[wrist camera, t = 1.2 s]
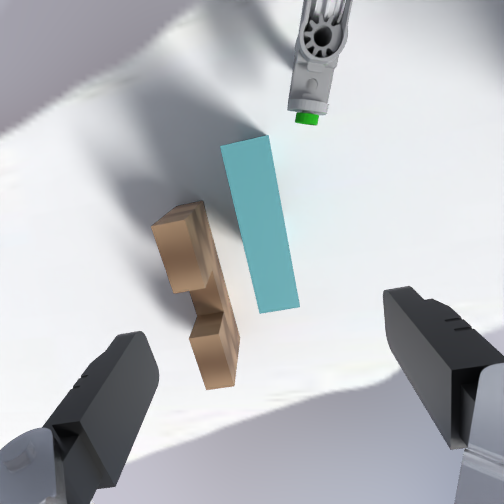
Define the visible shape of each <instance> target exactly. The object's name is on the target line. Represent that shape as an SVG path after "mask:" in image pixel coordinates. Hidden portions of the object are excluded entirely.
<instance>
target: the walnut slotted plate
mask: <svg viewBox="0 0 504 504" xmlns="http://www.w3.org/2000/svg"><path fill="white" fill-rule="evenodd" d="M151 229H152V231H153V234H154V237H155V240H156V243H157V246H158V249H159V252H160V255H161V258H162V261H163V264H164V267H165V270H166V273H167V276H168V279H169V282H170V284H171V287H172V290H173V293H174V294H175V293H181V292H186V291H189V292H190V295H191V298H192V301H193V304H194V307H195V310H196V314H197V318H196V321H195V324H194V326H193V329H192V332H191V334H190V337H189V340H190V343H191V346H192V349H193V352H194V355H195V358H196V361H197V364H198V367H199V370H200V373H201V376H202V379H203V382H204V385H205V387H206V390H210V389H217V388H225V387H232V386H234V385H235V377H236V368H237V360H238V352H239V343H240V336H239V333H238V329H237V325H236V321H235V318H234V314H233V310H232V307H231V303H230V299H229V296H228V292H227V288H226V285H225V281H224V277H223V274H222V270H221V266H220V263H219V259H218V255H217V251H216V248H215V244H214V240H213V237H212V233H211V229H210V226H209V222H208V218H207V215H206V211H205V207H204V204H203V201H199V202H194V203H189V204H184V205H180V206H176V207H175V208H173V209H172V210H171V211H170V212H168V213H167V214H166V215H165V216H163V217H162V218H161V219H160V220H158V221H157V222H156V223H155V224H153V225H152V226H151Z"/></svg>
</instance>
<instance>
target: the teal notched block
mask: <svg viewBox="0 0 504 504" xmlns="http://www.w3.org/2000/svg"><path fill="white" fill-rule="evenodd" d="M220 148H221V153H222V157H223V161H224V165H225V169H226V174H227V178H228V182H229V186H230V191H231V195H232V199H233V203H234V207H235V212H236V216H237V220H238V224H239V228H240V233H241V237H242V241H243V245H244V250H245V254H246V258H247V262H248V266H249V271H250V275H251V279H252V283H253V287H254V292H255V296H256V300H257V304H258V309H259V313H260V314H261V313H267V312H273V311H279V310H285V309H291V308H297V307H300V304H299V299H298V293H297V288H296V282H295V277H294V272H293V266H292V261H291V255H290V250H289V244H288V239H287V233H286V228H285V223H284V217H283V212H282V206H281V201H280V195H279V190H278V184H277V179H276V174H275V168H274V163H273V157H272V152H271V146H270V141H269V135H266V136H261V137H257V138H253V139H248V140H244V141H240V142H235V143H231V144H227V145H223V146H220Z"/></svg>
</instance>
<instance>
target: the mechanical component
mask: <svg viewBox="0 0 504 504" xmlns="http://www.w3.org/2000/svg"><path fill="white" fill-rule="evenodd" d="M344 3H345V0H304V2H303V8H302V15H301V21H300V28H299V34H298V37H297V40H296V44H295V60H294V67H293V73H292V80H291V86H290V93H289V100H288V109H287V110H288V111H295V112H297V113H296V119H295V122H296V123H301V124H308V125H317V123H318V118H319V115H326V114H327V110H328V105H329V104H327V103H328V98H329V93H330V88H331V82H332V77H333V72H334V68H335V67H337V62H338V57H339V54H340V53H341V51H342V50H343V48H344V47H345V44H346V42H347V37H348V26H347V25H348V20H349V15H350V10H351V5H352V0H346V3H345V7H344ZM343 8H344V10H343ZM342 13H343V14H342ZM316 114H317V115H316Z"/></svg>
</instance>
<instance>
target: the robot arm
mask: <svg viewBox="0 0 504 504" xmlns="http://www.w3.org/2000/svg"><path fill="white" fill-rule="evenodd" d="M383 304H384V317H385V330H386V337H387V341H388V344H389V347H390V349H391V351H392V353H393V355H394V356H395V358H396V360H397V361H398V363H399V365H400V366H401V368H402V370H403V371H404V373H405V374H406V376H407V378H408V380H409V381H410V383H411V384H412V386H413V388H414V390H415V391H416V393H417V395H418V396H419V398H420V400H421V401H422V403H423V405H424V406H425V408H426V410H427V411H428V413H429V415H430V416H431V418H432V420H433V421H434V423H435V424H436V426H437V428H438V430H439V431H440V433H441V435H442V436H443V438H444V440H445V441H446V442H447V445H448V446H449V448H450V449H451V450H453V449H462V448H468V449H465V450H464V454H463V458H462V463H461V469H460V475H459V480H458V486H457V492H456V497H455V503H454V504H504V356H503V355H502V354H501V353H500V352H499V351H497V349H496V348H494V347H493V346H492V345H491V344H490V343H489V342H488V341H487V340H486V339H485V338H483V337H482V336H481V335H480V334H479V333H478V332H477V331H476V330H475V329H472V328H471V326H470V325H469V324H468V323H467V322H466V321H465V320H464V319H463V320H462V319H461V317H460V316H459V315H458V314H457V313H456V312H455V311H454V310H453V309H452V308H450V307H449V306H447V305H445V304H443V303H441V302H438V301H436V300H434V299H427V300H424V299H423V298H422V297H421V296H420V295H419V294H418V293H417V292H416V291H415V290H414V289H413V288H412V287H410V286H406V287H400V288H394V289H388V290H384V292H383ZM158 383H159V370H158V366H157V364H156V361H155V359H154V356H153V353H152V351H151V348H150V346H149V343H148V341H147V338H146V336H145V334H144V333H143V332H142V331H137V332H131V333H125V334H120V335H117V336H116V337H115V339H114V340H113V342H112V343H111V344H110V346H109V347H108V348H107V350H106V351H105V352H104V353H102V354H101V355H100V356H99V357H98V358H96V359H95V360H94V361H93V362H92V363H90V365H89V366H88V367H87V369H86V370H85V371H84V373H83V374H82V375H81V378H79V379H78V381H77V382H76V383H75V385H74V386H73V389H71V390H70V391H69V392H68V394H67V395H66V396H65V398H64V399H63V400H62V402H61V403H60V404H59V406H58V407H57V408H56V410H55V411H54V412H53V414H52V415H51V416H50V418H49V419H48V420H47V422H46V423H45V424H44V425H43V427H42V428H37V429H33V430H30V431H28V432H25V433H24V434H22V435H20V436H18V437H16V438H15V439H13V440H12V441H10V442H9V443H8V444H7V445H5V446H4V447H3V448H2V449H1V450H0V504H94V502H93V501H92V498H93V496H94V494H95V492H96V489H101V488H110V487H115V486H116V484H117V482H118V479H119V477H120V475H121V472H122V470H123V468H124V465H125V463H126V460H127V458H128V456H129V453H130V451H131V448H132V446H133V444H134V441H135V439H136V437H137V434H138V432H139V429H140V427H141V425H142V422H143V420H144V417H145V415H146V413H147V410H148V408H149V406H150V403H151V401H152V398H153V396H154V394H155V391H156V389H157V386H158Z"/></svg>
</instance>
